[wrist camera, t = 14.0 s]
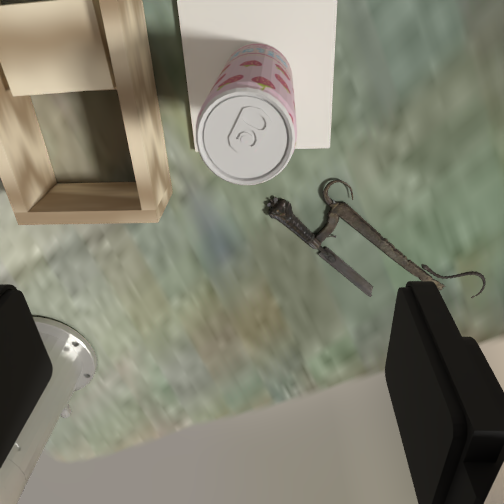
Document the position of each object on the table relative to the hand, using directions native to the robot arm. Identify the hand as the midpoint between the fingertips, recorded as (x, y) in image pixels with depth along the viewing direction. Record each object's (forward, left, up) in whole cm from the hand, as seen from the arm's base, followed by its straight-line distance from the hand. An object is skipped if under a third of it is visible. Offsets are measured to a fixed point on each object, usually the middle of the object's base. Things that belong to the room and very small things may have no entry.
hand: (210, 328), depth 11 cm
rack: (0, +15, -30) cm, 34 cm away
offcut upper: (+3, +15, -28) cm, 32 cm away
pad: (0, 0, -30) cm, 30 cm away
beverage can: (0, 0, -30) cm, 30 cm away
